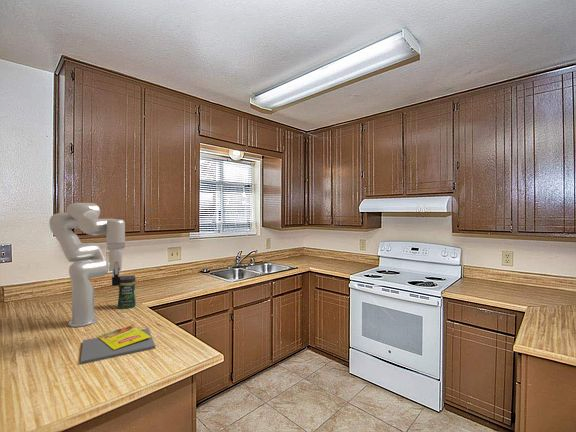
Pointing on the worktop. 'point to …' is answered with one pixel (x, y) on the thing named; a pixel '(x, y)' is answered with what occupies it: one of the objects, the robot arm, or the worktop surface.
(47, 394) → the worktop surface
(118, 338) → the food package
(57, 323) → the worktop surface
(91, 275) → the robot arm
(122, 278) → the coffee jar
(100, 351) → the rubber mat
